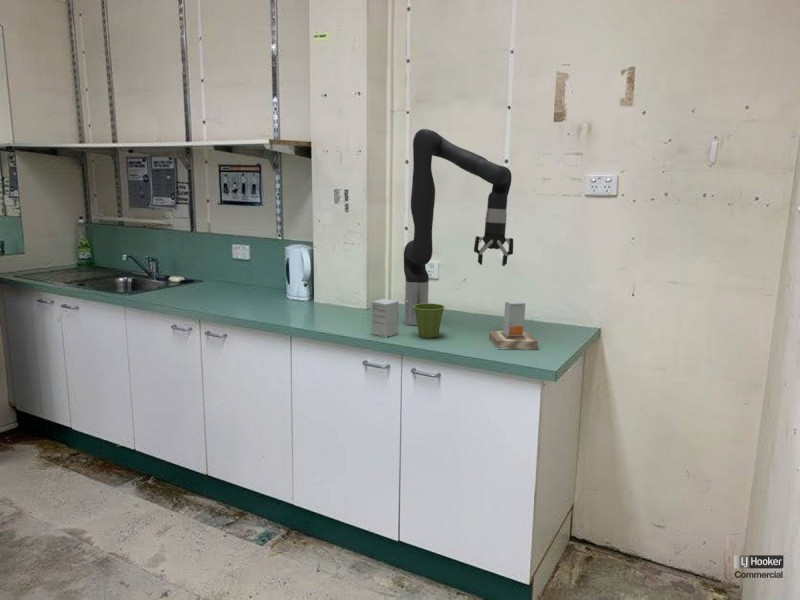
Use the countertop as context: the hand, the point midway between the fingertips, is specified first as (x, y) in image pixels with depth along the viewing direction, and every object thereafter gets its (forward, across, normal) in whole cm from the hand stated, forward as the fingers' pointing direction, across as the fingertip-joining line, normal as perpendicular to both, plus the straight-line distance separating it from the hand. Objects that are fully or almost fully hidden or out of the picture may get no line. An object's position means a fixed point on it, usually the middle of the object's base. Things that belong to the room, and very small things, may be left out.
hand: (492, 265), depth 217 cm
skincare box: (+23, +7, -16) cm, 29 cm away
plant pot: (+27, -22, -6) cm, 36 cm away
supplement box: (+28, -39, -5) cm, 48 cm away
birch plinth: (+26, +7, -16) cm, 31 cm away
